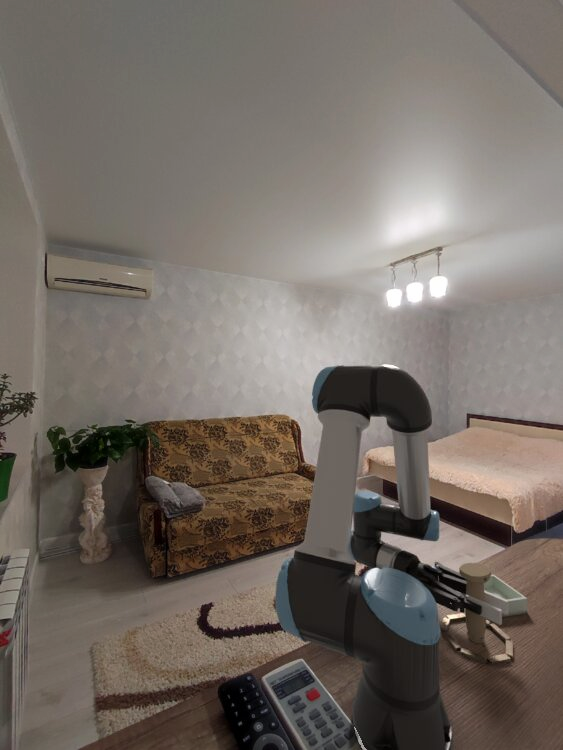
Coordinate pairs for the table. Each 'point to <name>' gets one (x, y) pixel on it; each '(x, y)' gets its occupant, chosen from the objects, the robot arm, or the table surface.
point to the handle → (475, 588)
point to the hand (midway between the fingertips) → (504, 612)
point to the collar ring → (471, 655)
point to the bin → (507, 595)
